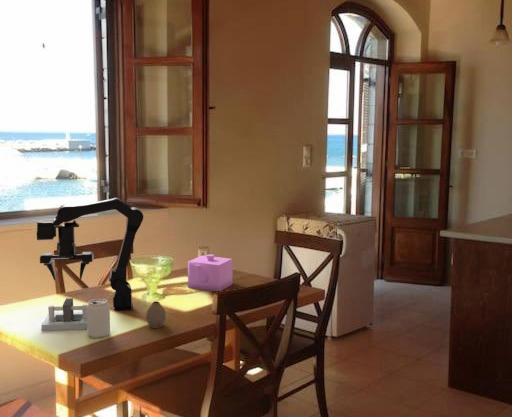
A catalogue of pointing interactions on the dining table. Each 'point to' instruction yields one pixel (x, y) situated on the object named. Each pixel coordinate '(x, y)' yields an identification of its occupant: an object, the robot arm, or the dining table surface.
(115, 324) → the dining table surface
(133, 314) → the dining table surface
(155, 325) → the vase
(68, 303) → the tall grey upright block
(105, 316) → the can
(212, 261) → the pink knobbed box
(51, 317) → the square frame
